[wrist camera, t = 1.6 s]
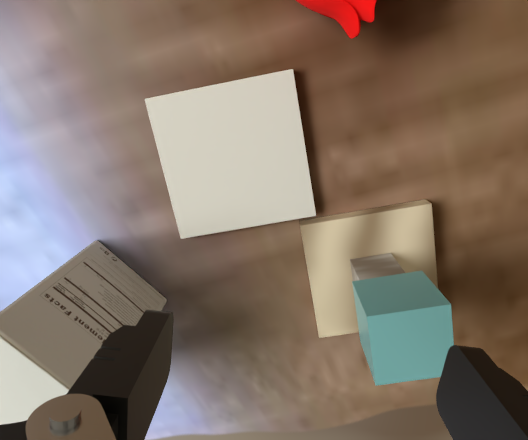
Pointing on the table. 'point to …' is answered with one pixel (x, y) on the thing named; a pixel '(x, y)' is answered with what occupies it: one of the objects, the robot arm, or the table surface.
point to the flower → (344, 12)
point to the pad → (233, 154)
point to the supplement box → (65, 327)
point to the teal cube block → (403, 326)
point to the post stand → (363, 256)
